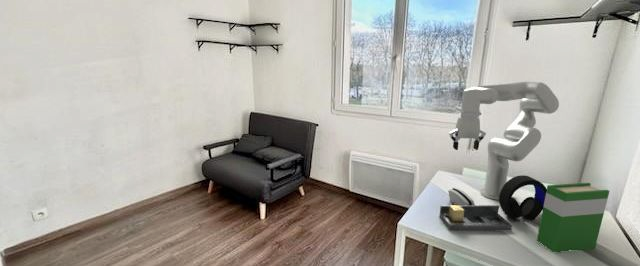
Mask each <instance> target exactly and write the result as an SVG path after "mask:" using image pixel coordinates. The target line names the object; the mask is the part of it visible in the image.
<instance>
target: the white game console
mask: <svg viewBox="0 0 640 266" xmlns="http://www.w3.org/2000/svg"><path fill="white" fill-rule="evenodd" d="M447 192H448V196H449V197H448V198H449V201H451V202H452V203H453V205H476V204H475V201H474V200H473V198H472V197H471V196H469V194H468V193H466V192H465V191H463V190H462V189H460V188H459V187H452V188H450V189H449V190H447Z"/></svg>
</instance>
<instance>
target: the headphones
mask: <svg viewBox="0 0 640 266" xmlns="http://www.w3.org/2000/svg"><path fill="white" fill-rule="evenodd" d="M525 186H533V187H534V196H528V197H526V198H525V199H524V200H522V202H521V203H520V204H519V202H518V200H516V199H515V197H513V195H514V194H515V193H516V192H517V191H518V190H519V189H521V188H523V187H525ZM546 191H547V186H545V185H544V184H543V182H541V181H539V180H538V179H535V178H534V177H531V176H529V175H516V176H514V177H512V178H510V179H508V180H507V181H506V183H505V184H504V186H503V187H502V189H501V191H500V195H499V200H498V202H499V205H500V206H499V207H501V208H500V209H501V211H502V212H503V214H504V215H505V216H506V217H508V218H509V219H510V220H511V221H513V222H514V221H515V222H517V220H518V219H519V218H521V217H522V218H524V219H526V220H530V221H535V220H536V218H537V217H538V216H540V214H542V212H543V207H544V201H545V196H546Z"/></svg>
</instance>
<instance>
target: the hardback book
mask: <svg viewBox="0 0 640 266" xmlns="http://www.w3.org/2000/svg"><path fill="white" fill-rule="evenodd" d="M546 189H547V191H546V196H545V201H544V207H543V210H542V212H541V218H540V223H539V228H538V233H537V237H536V242H537V241H538V243H539V242H540V243H542V244H543V245H544V247H545V246H546V247H547V248H546V247H545V248H546V249H547V250H549V249H550V250H551V251H550V250H549V251H550V252H552V253H553V252H554V254H556V253H555V252H557V253H562V252H561V251H568V252H570V251H569V250H578V251H585V250H587V251H588V250H595V249H596V245H597V242H598V239H599V235H600V231H601V227H602V222H603V220H604V219H603V218H604V215H605V211H606V206H607V202H608V198H609V194H610V189H609V190H608V189H599V188H597V187H595V186H592V185H591V183H590V182H580V183H579V182H578V183H576V182H575V183H562V184H548V185H547V186H546ZM540 243H539V244H540ZM542 244H541V245H542ZM543 245H542V246H543Z"/></svg>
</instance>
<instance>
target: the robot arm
mask: <svg viewBox="0 0 640 266" xmlns="http://www.w3.org/2000/svg"><path fill="white" fill-rule="evenodd" d="M517 100H520V101H519V111H518V112H519V114H518V116H517V118H515V120H513V122H512V123H511V124H510V125H509V126H508V127H506V129H505V130H504V132H503V137H493V138H491V139H490V140H489V141H488V143H487V154H488V155H487V166H486V173H485V180H484V187H483V188H481V189H480V194H481V195H482V196H484V197H485V198H487V199H490V200H495V201H499V195H500V191H501V189H502V187H503V186H504V184H505V183H506V182H507V181H508V172H509V169H510V168H509V167H510V165H509V164H510V163H509V161H512V162H521V161H523V160H524V159H526V158H527V156H529V154H530V153H531V152H532V151H533V150H534V149H535V148H537V146H538V144H539V143H540V142H541V139H542V133H541V132H542V131H540V130H539V129H538V128H535V126H536V123H537V121H536V117H535V113H538V114H539V113H540V114H550V115H551V114H554V113H555V112H557V110H558V109H559V106H560V102H559V98H557V96H556V94H555V93H554V92H553V90H552V89H551V88H550V87H549V86H548V85H547V84H546V83H544V82H537V81H536V82H535V81H518V82H512V83H500V84H489V85H478V86H472V87H470V88H466V89H463V92H462V102H461V109H460V116H459V117H457V120H456V121H457V122H456V124H455V129H453V130H452V131H450V132H448V135H449V137H450V139H451V140H452V141H453V145H452V147H453V150H455V151H458V149H459V141H460V139H474V141H473V146H472V148H473V149H474V150H476V151H478V150H479V147H480V143H481V141H482V140H484V138H485V136H486V135H487V132H485V131H483V130H481V121H480V116H482V112H480V105H492V104H495V103H496V102H510V101H517Z"/></svg>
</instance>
